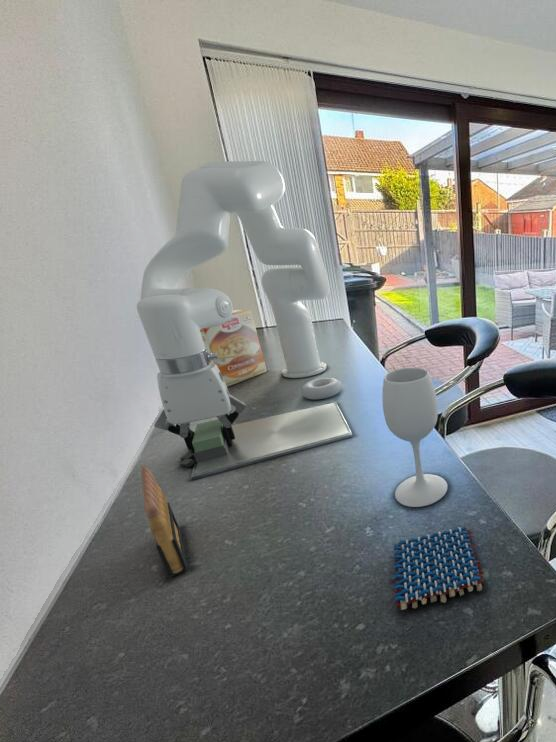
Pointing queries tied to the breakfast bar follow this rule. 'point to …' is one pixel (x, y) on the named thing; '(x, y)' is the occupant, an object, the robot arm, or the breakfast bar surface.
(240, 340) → the coffeecake box
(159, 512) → the ammunition clip
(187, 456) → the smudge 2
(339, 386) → the donut
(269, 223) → the robot arm
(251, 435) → the board
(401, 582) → the woven mat
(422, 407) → the wineglass
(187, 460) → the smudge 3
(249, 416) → the breakfast bar surface
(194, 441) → the eraser
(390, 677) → the breakfast bar surface
